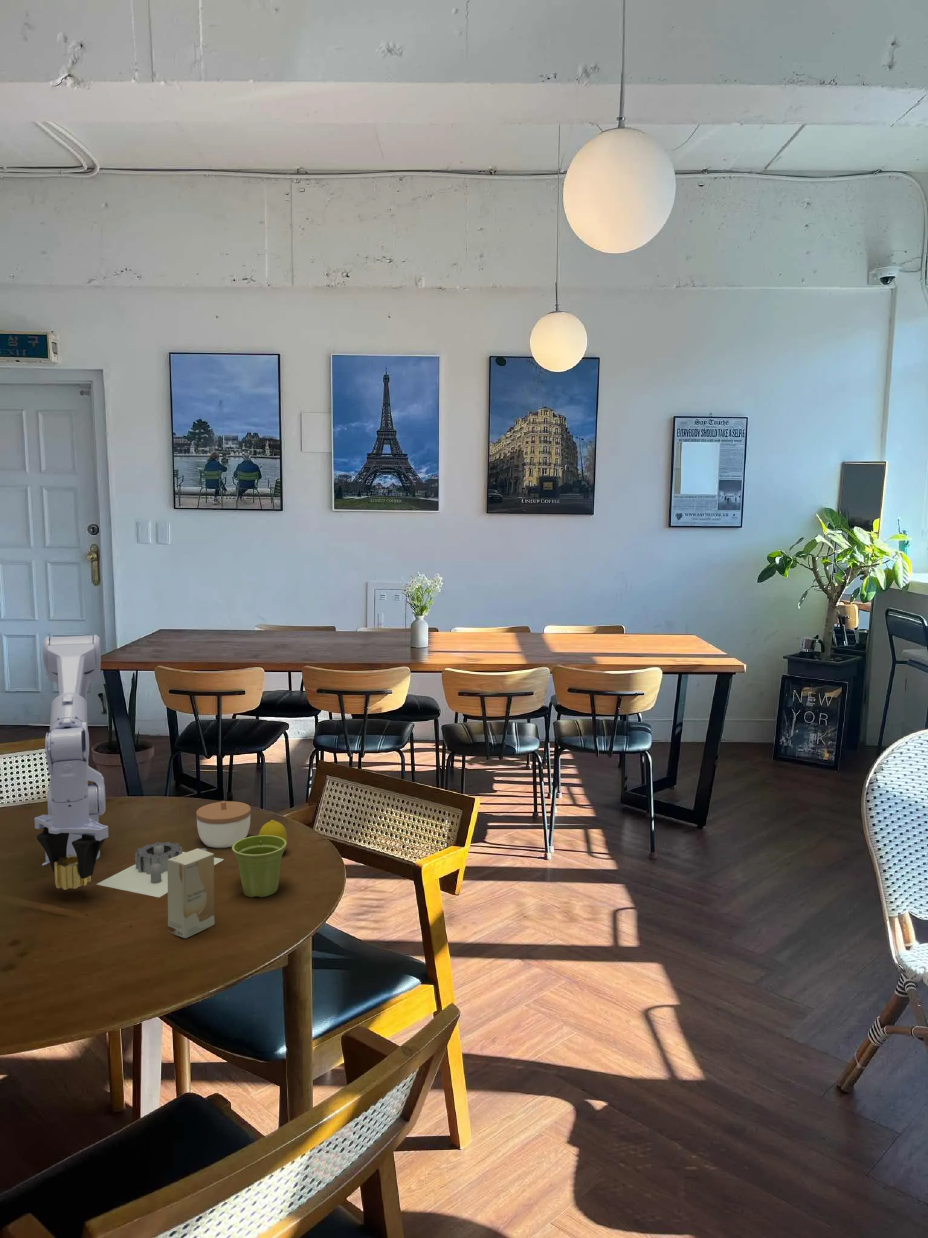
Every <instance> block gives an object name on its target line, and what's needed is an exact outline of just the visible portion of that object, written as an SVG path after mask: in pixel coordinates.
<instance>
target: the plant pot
mask: <svg viewBox="0 0 928 1238" xmlns="http://www.w3.org/2000/svg"><path fill="white" fill-rule="evenodd" d="M285 847H287V845H286V841H285V840H284V839H283V838H281V837H278V836H273V835H259V834H258V835H253V836H248V837H247V836H246V838H244V839H241V840H239V841H237V842H236V843H234V844H233V846H232V847H231V850H232V852H233V853H234V855H235V859H236V860H237V864H238V865H237V866H238V869H239V876H240V881H241V888H242V893H243V894H244V896H246V897H249V898H254V897H259V898H266V897H269V896H271V895H273V894H275V893H276V892H277V891H278V889H279V883H280V873H281V865H282V857H283V854H284V851H285V850H284V848H285ZM285 849H286V848H285Z"/></svg>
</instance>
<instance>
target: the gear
mask: <svg viewBox="0 0 928 1238" xmlns="http://www.w3.org/2000/svg"><path fill="white" fill-rule="evenodd" d="M157 845H163V846H164V853H163V854H154V846H157ZM182 852H183V846H182V845H181V846H180V843H178V842H176V843H171V841H166V842H159V841H158V842H156V841H155V842H154V843H152V844H144V846H143V847H138V848H137V849H136V852H135V853H134V855H135V856H134V857H135V864H136V869H138V872H140V873H142V872H146V873H147V874H151V871H150V866H151V865H152V864H156V863H159V864H161V873H163V872H166V871H168V866H167V860H168V859H170V858H173V857H176V856H178V855H180V854H182Z"/></svg>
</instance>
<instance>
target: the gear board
mask: <svg viewBox="0 0 928 1238" xmlns="http://www.w3.org/2000/svg"><path fill="white" fill-rule="evenodd" d="M200 849H201V850H204V851H207V852H208V849H207V848H206V847H205V848H203V847H202V848H200ZM186 852H187V851H182V854H183V853H186ZM163 853H164V846H163V845H157V846H154V854H163ZM223 861H225V859H224V858H219V857H215V856H214V866H216V865H217V864H219V863H221V862H223ZM150 871H151V874H147V873H146V872H142V873H140V872H138V869H136V863H135V864H133V865H130V866H129V867H127V868H125V869H123V870H121V871H119V872H117V873H115V874H113V875H112V876H110V877H107V878H105V879H103V880H102V881H100V882H98V883H95V885H96V886H101V887H107V888H110V889H114V890H115V889H116V890H121V891H125V892H131V893H135V894H140V895H144V896H151V897H155V898H161V897H163V896H165V895H166V894H168V871H166V872H163V873H161V864H159V863H156V864H152V865H151V866H150Z"/></svg>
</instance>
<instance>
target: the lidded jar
mask: <svg viewBox="0 0 928 1238" xmlns="http://www.w3.org/2000/svg"><path fill="white" fill-rule="evenodd" d="M251 812H252V808H251V806H250V805H249V804H248V803H245V802H240V801H231V800H230V801H229V800H228V801H226V800H221V801H219V802H218V801H216V802H212V803H208V804H205V805H203V806H201V807H199V808H197V810H196V813H195V815H196V817H195V818H196V827H197V832H198V836H199V838H200V840H201V841H202V843H203V844H204V845H205V846H206V847H209V848H215V849H225V848H232V846H233V844H234V843H236V842H237V841H239V840H241V839H244V838H247V836H248V834H249V832H250V826H251Z"/></svg>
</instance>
